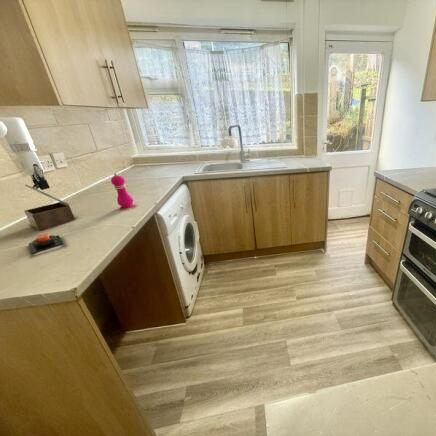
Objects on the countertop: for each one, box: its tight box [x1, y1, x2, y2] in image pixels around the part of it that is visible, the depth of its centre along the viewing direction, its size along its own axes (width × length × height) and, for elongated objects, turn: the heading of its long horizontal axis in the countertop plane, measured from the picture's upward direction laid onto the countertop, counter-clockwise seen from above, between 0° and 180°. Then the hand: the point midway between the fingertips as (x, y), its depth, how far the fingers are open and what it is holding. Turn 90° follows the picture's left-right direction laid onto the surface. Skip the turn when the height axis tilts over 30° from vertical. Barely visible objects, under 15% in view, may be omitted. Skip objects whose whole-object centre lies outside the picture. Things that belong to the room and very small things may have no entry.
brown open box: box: [23, 201, 76, 232], centre depth 117 cm, size 13×11×8 cm
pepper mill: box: [110, 172, 135, 210], centre depth 130 cm, size 7×7×20 cm
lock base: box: [28, 234, 64, 255], centre depth 95 cm, size 11×9×4 cm
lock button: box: [35, 233, 50, 242], centre depth 94 cm, size 4×4×2 cm
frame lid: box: [24, 182, 70, 206], centre depth 115 cm, size 14×11×6 cm
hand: (42, 187), depth 113 cm, fingers closed on frame lid, 5 cm apart
